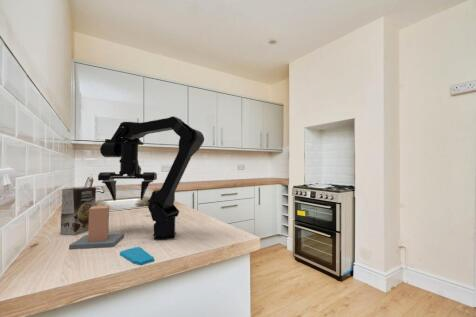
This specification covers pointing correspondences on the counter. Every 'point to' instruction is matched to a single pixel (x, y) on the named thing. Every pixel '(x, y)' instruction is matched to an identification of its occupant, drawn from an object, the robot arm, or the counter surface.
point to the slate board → (96, 242)
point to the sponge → (137, 256)
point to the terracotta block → (98, 223)
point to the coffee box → (76, 209)
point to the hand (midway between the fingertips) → (128, 200)
